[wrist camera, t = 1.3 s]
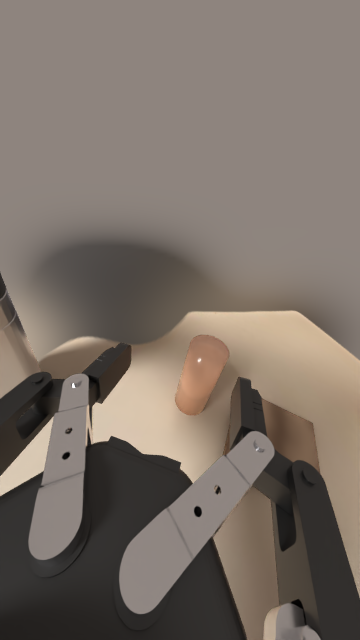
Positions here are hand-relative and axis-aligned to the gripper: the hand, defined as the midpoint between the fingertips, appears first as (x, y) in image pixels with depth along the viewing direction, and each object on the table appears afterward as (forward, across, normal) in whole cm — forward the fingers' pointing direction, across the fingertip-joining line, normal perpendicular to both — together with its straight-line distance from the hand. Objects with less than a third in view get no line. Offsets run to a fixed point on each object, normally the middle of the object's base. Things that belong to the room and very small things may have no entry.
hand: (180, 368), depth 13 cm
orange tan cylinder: (+13, -1, +18) cm, 22 cm away
